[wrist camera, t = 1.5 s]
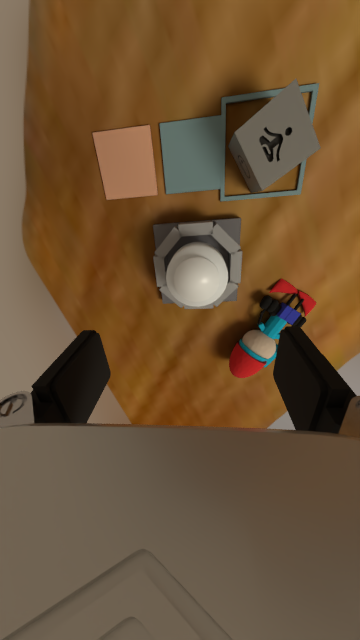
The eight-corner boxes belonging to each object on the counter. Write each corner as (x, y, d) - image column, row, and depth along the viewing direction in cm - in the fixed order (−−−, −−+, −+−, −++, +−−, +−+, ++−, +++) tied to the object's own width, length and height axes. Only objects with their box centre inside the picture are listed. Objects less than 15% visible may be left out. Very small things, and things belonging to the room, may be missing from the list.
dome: (226, 239, 23) (229, 245, 20) (224, 295, 26) (228, 308, 23) (166, 243, 23) (161, 250, 20) (172, 297, 26) (168, 310, 23)
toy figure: (270, 272, 29) (211, 356, 34) (290, 280, 24) (218, 376, 29) (310, 298, 31) (248, 374, 35) (335, 310, 26) (261, 395, 31)
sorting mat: (317, 84, 19) (319, 83, 19) (299, 194, 23) (300, 194, 23) (89, 117, 21) (88, 116, 21) (109, 211, 25) (108, 211, 25)
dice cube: (227, 146, 22) (234, 132, 17) (275, 105, 20) (296, 78, 15) (251, 192, 23) (262, 190, 19) (296, 158, 22) (320, 148, 17)
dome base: (239, 217, 24) (244, 219, 22) (235, 297, 29) (238, 307, 27) (154, 224, 26) (149, 226, 23) (164, 300, 30) (160, 309, 28)
